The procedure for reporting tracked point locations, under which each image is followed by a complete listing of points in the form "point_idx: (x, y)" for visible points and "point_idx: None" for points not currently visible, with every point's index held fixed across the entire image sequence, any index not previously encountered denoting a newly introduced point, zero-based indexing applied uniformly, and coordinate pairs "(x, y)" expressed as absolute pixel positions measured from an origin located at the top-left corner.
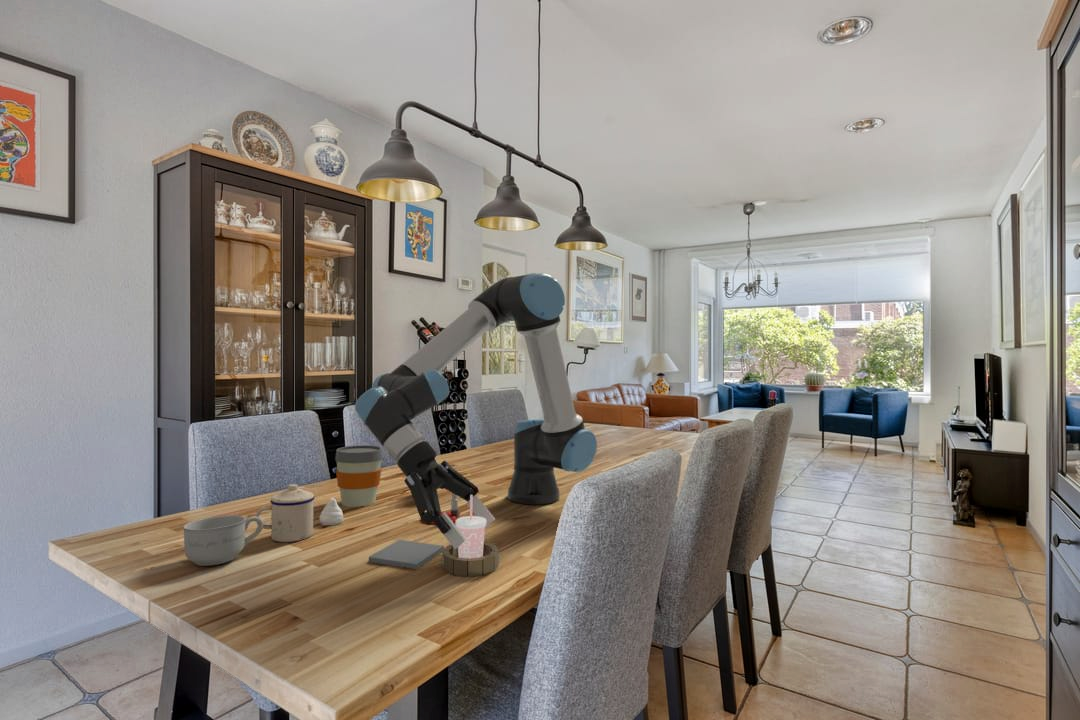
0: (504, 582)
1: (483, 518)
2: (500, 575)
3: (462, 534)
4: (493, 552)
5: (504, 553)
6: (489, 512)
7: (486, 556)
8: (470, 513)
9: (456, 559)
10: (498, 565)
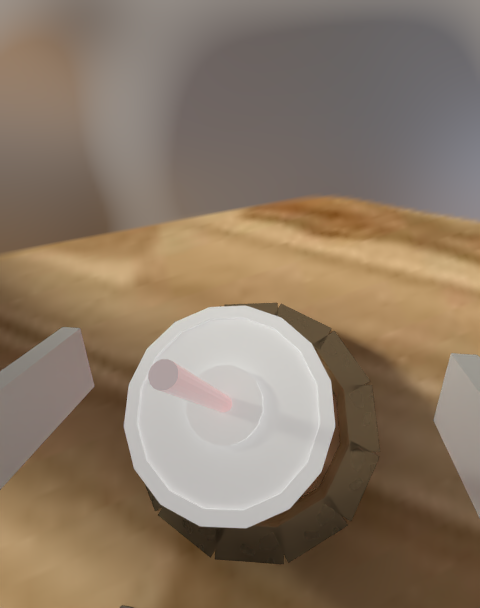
0: (353, 265)
1: (166, 341)
2: (306, 292)
3: (471, 374)
4: None
5: (122, 339)
6: (35, 352)
7: (298, 327)
8: (224, 401)
9: (374, 439)
10: None
